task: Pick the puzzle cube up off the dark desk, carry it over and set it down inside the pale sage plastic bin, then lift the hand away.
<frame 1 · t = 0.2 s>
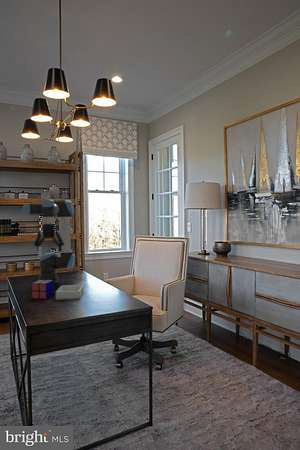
hand: (49, 256, 214), 26 cm above the table, tool pointing down, fingers open, 13 cm apart
bin: (70, 295, 219), on the table
puzzle cube: (43, 297, 217), on the table
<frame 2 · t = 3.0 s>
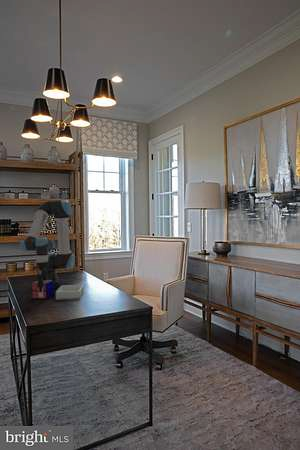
hand: (43, 294, 217), 1 cm above the table, tool pointing down, fingers closed on puzzle cube, 11 cm apart
puzzle cube: (43, 297, 217), on the table, touching gripper
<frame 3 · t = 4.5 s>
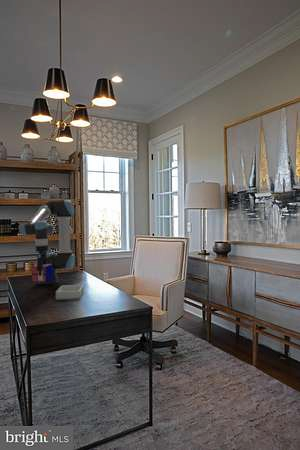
hand: (43, 278, 217), 12 cm above the table, tool pointing down, fingers closed on puzzle cube, 11 cm apart
puzzle cube: (43, 280, 217), point 10 cm above the table, touching gripper
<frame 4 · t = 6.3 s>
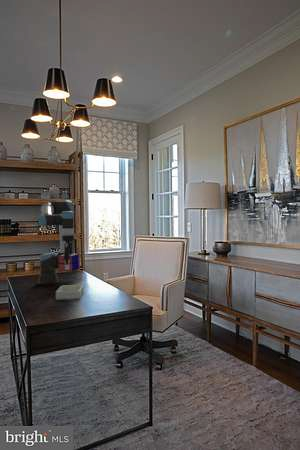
hand: (69, 268, 218), 18 cm above the table, tool pointing down, fingers closed on puzzle cube, 11 cm apart
puzzle cube: (69, 270, 218), point 17 cm above the table, touching gripper
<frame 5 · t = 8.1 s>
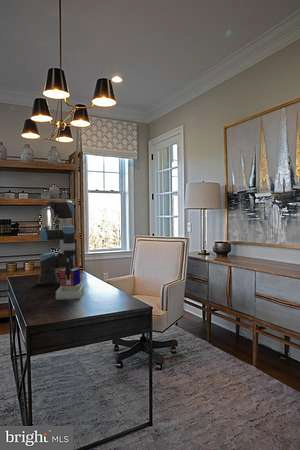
hand: (70, 282, 218), 8 cm above the table, tool pointing down, fingers closed on puzzle cube, 11 cm apart
puzzle cube: (70, 285, 218), point 7 cm above the table, touching gripper
when the fingers open (4 cm above the table, at t = 9.6 s): puzzle cube drops 2 cm, resting on bin.
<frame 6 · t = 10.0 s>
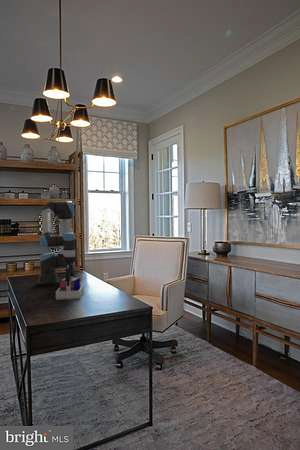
hand: (70, 288, 218), 5 cm above the table, tool pointing down, fingers open, 13 cm apart
puzzle cube: (70, 294, 219), point 1 cm above the table, touching bin
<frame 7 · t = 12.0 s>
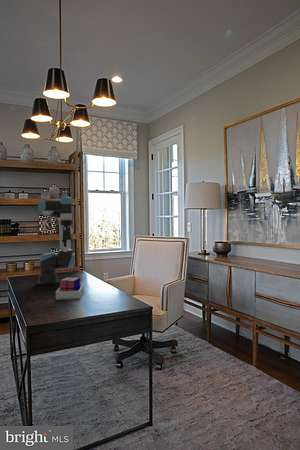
hand: (67, 250, 230), 29 cm above the table, tool pointing down, fingers open, 13 cm apart
nothing on the table moved.
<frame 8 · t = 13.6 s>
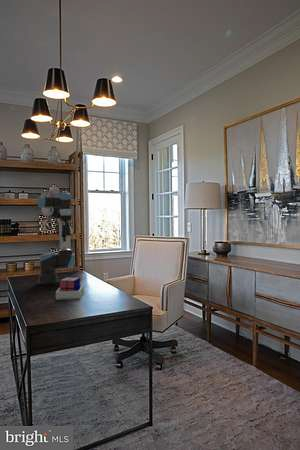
hand: (66, 245, 233), 32 cm above the table, tool pointing down, fingers open, 13 cm apart
nothing on the table moved.
at the end: puzzle cube inside the target area on the bin (0.1 cm from its centre), point 0.8 cm above the bin's base; puzzle cube tilted 0°; the gripper is holding nothing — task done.
